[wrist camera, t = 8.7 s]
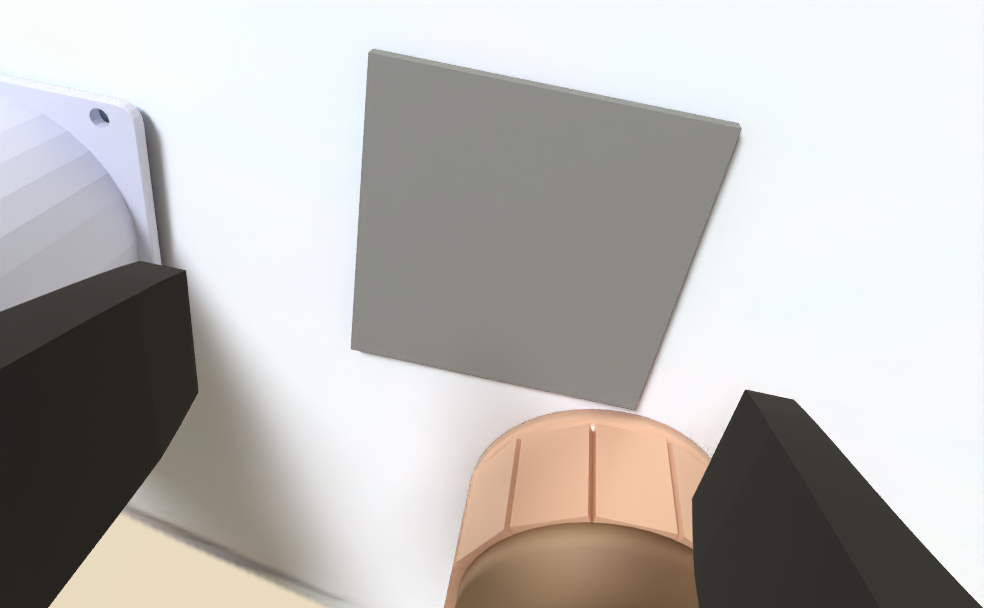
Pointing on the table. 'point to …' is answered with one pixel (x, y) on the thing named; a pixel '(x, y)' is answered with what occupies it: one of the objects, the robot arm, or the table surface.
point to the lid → (581, 570)
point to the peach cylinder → (579, 480)
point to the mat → (526, 226)
